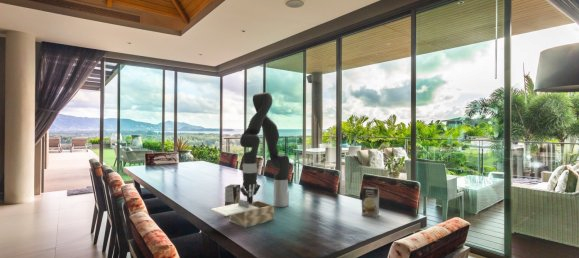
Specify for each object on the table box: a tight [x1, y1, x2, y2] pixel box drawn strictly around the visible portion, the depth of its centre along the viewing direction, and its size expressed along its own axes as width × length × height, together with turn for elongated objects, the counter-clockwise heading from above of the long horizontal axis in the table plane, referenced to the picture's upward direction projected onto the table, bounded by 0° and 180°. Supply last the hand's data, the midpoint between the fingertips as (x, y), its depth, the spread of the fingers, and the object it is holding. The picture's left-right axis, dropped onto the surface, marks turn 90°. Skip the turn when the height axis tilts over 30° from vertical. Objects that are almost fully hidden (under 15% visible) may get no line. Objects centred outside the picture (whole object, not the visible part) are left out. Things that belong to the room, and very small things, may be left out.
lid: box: [210, 198, 258, 217], centre depth 153 cm, size 20×15×4 cm
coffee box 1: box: [224, 184, 241, 206], centre depth 175 cm, size 9×6×16 cm
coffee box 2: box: [361, 185, 380, 218], centre depth 173 cm, size 9×6×16 cm
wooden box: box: [229, 200, 275, 228], centre depth 161 cm, size 19×14×8 cm
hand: (249, 203), depth 160 cm, fingers closed
